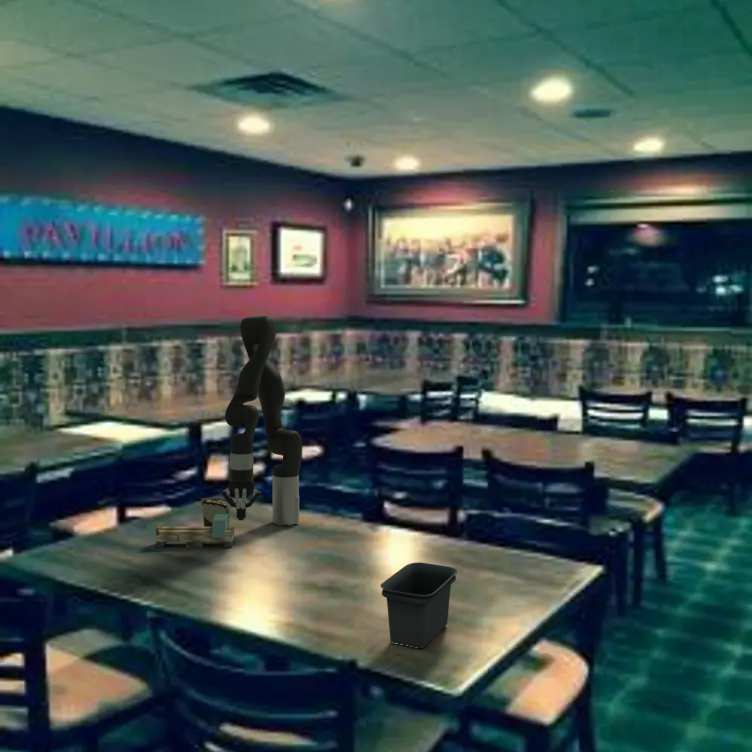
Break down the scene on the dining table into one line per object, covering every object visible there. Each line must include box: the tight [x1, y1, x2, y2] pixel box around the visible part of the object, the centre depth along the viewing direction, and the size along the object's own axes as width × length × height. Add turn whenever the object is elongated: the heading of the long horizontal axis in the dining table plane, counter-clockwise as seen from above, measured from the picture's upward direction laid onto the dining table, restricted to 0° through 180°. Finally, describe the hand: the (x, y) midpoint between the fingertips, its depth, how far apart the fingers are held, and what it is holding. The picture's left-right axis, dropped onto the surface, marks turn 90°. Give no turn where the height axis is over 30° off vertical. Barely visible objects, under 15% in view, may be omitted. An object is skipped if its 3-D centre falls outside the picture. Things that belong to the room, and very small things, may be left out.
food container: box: [200, 497, 233, 527], centre depth 293 cm, size 12×6×10 cm, turn 58°
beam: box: [155, 522, 235, 549], centre depth 273 cm, size 24×6×6 cm, turn 92°
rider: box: [212, 514, 230, 538], centre depth 273 cm, size 4×9×5 cm, turn 2°
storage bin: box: [380, 562, 458, 649], centre depth 204 cm, size 21×16×14 cm
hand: (241, 519), depth 273 cm, fingers closed
